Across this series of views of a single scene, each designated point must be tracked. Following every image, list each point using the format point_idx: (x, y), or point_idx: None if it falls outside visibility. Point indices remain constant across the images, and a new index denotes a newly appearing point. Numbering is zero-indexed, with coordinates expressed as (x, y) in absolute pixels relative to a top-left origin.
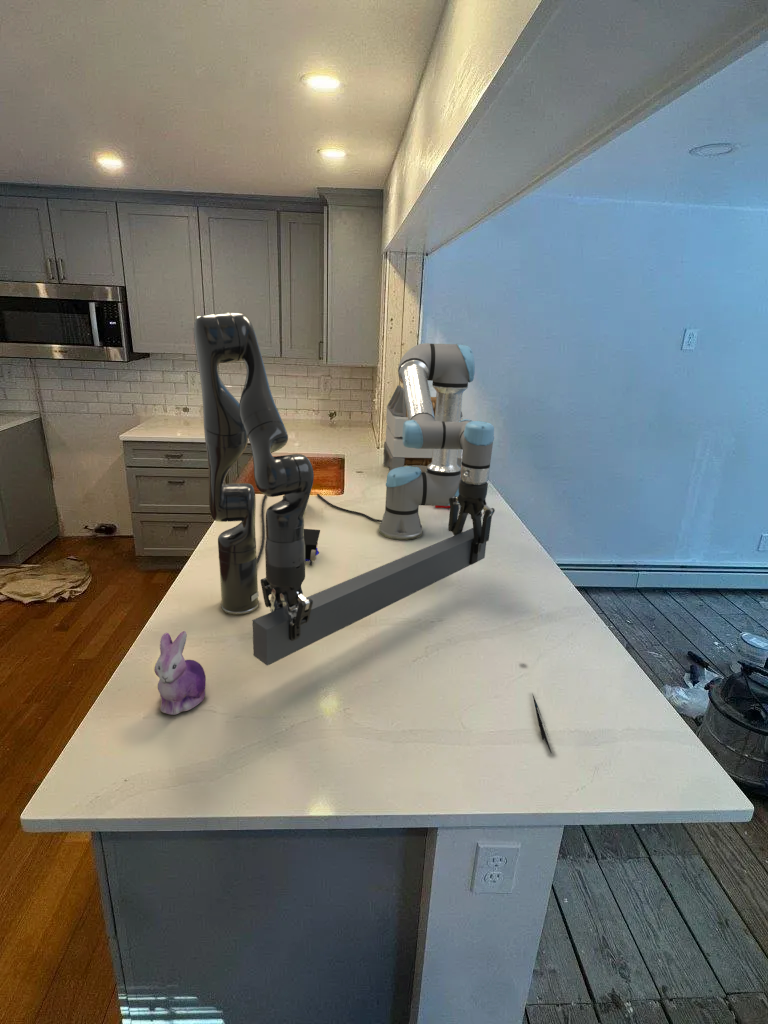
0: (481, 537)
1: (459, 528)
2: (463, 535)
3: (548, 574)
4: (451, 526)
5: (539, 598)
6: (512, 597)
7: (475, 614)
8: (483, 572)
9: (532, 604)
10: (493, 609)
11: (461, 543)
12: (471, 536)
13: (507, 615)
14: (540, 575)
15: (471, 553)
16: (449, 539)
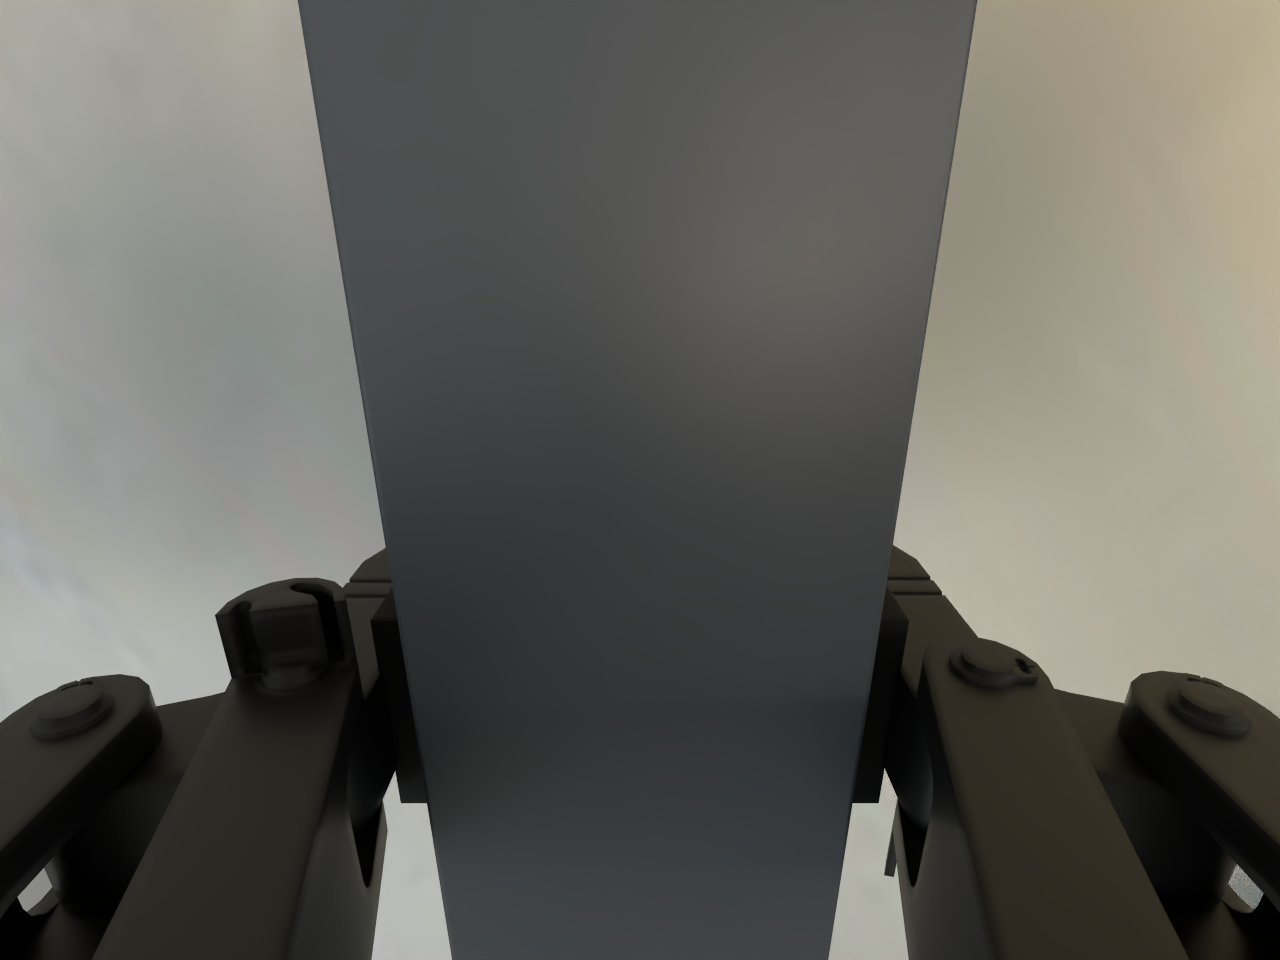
0: (11, 805)
1: (947, 849)
2: (704, 691)
3: (389, 951)
4: (1252, 798)
5: (183, 684)
6: (299, 567)
7: (253, 79)
8: None
9: (140, 583)
10: (236, 292)
11: (322, 133)
12: (520, 780)
13: (97, 295)
14: (410, 916)
15: None
16: (848, 62)
